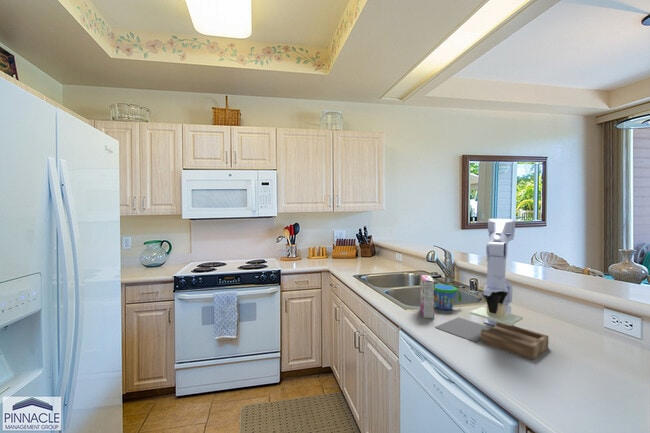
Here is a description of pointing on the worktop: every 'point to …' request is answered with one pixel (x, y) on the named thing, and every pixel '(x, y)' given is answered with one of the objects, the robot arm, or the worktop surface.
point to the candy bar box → (427, 296)
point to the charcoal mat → (464, 328)
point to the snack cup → (445, 296)
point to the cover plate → (495, 318)
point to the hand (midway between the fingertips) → (494, 311)
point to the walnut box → (515, 340)
